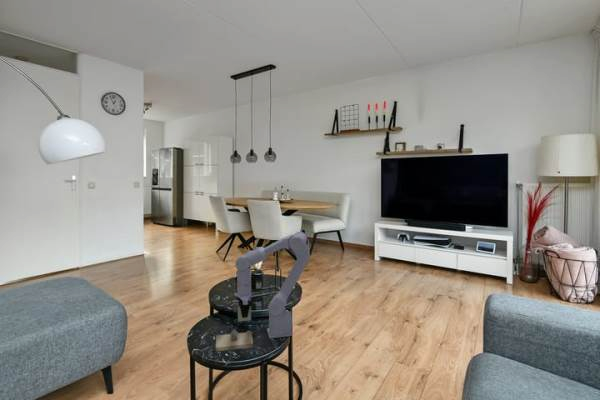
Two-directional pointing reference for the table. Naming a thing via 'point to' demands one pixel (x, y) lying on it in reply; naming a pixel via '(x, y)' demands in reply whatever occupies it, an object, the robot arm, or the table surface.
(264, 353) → the table surface
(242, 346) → the stub board
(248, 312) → the grey block
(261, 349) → the table surface
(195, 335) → the table surface
